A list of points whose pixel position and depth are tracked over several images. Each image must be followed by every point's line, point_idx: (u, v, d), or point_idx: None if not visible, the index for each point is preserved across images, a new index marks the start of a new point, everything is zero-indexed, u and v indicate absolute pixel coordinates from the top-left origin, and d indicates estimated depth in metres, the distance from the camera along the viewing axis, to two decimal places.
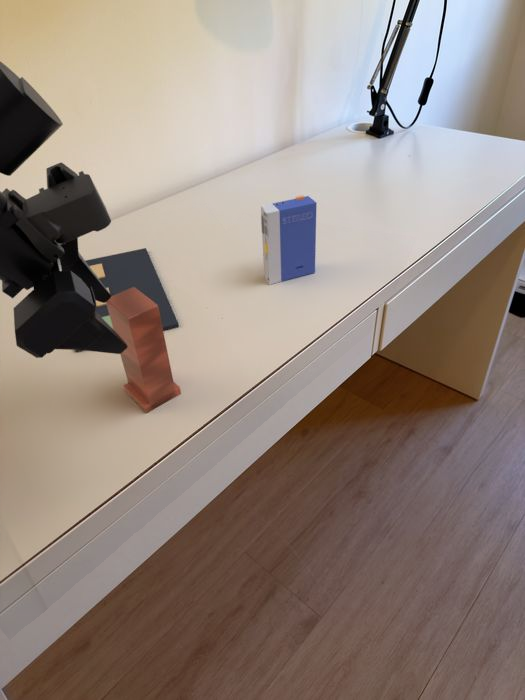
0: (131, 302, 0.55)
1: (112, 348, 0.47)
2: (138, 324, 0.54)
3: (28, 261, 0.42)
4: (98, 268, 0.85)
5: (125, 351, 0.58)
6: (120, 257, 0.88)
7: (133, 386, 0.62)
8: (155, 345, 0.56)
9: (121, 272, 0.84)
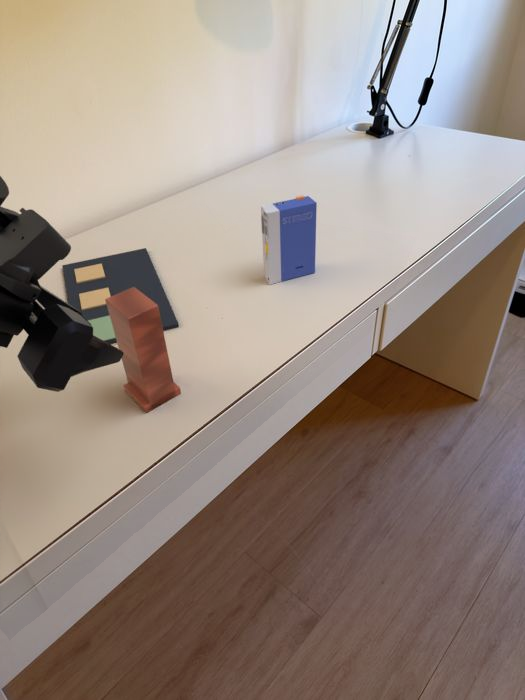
0: (131, 302, 0.55)
1: (112, 359, 0.50)
2: (138, 324, 0.54)
3: (11, 309, 0.44)
4: (98, 268, 0.85)
5: (125, 351, 0.58)
6: (120, 257, 0.88)
7: (133, 386, 0.62)
8: (155, 345, 0.56)
9: (121, 272, 0.84)
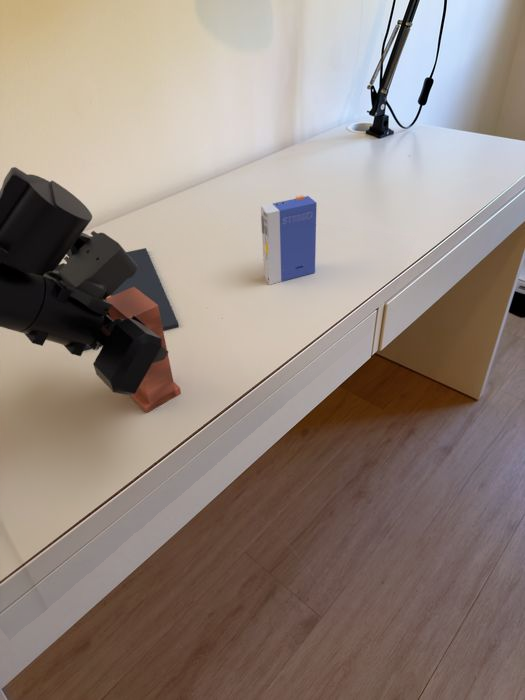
0: (131, 302, 0.55)
1: (158, 357, 0.57)
2: None
3: (87, 322, 0.49)
4: None
5: None
6: None
7: None
8: None
9: None
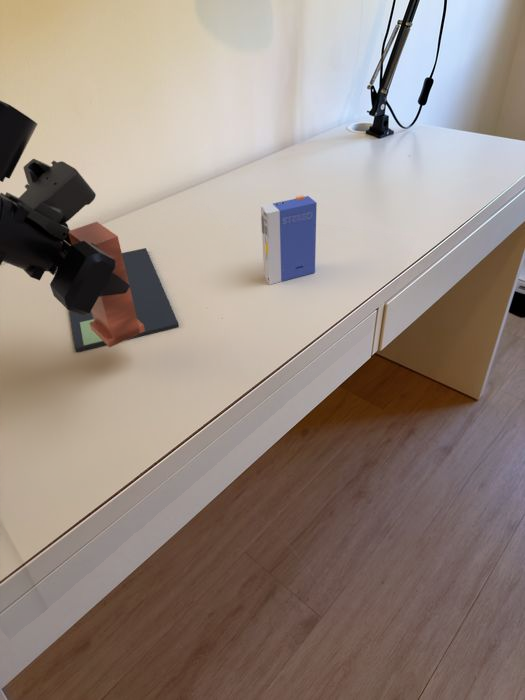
0: (92, 234, 0.57)
1: (119, 289, 0.58)
2: None
3: (45, 245, 0.51)
4: None
5: None
6: None
7: (98, 323, 0.64)
8: None
9: None
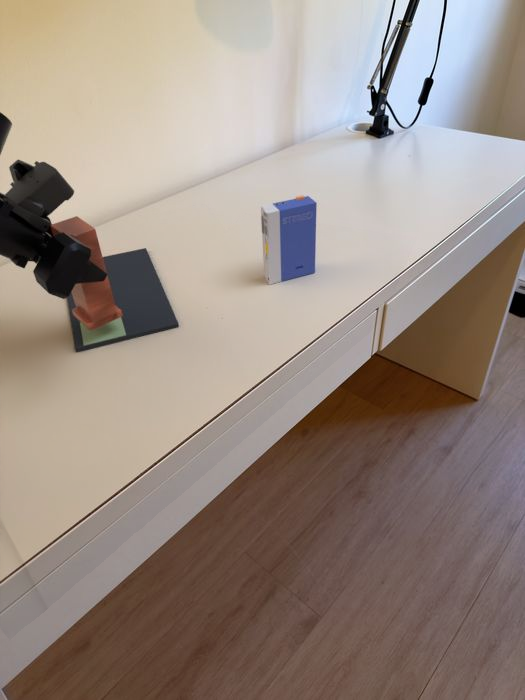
0: (72, 227, 0.63)
1: (98, 277, 0.65)
2: None
3: (28, 236, 0.57)
4: None
5: None
6: (120, 257, 0.88)
7: (80, 309, 0.70)
8: None
9: (121, 272, 0.84)
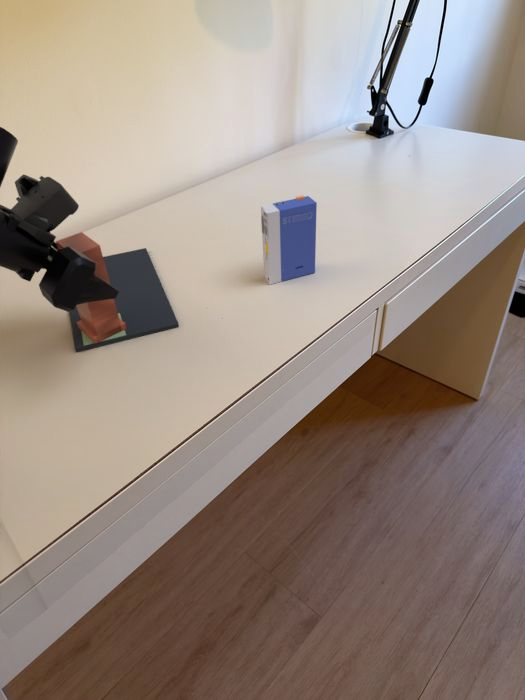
0: (77, 243, 0.64)
1: (109, 295, 0.65)
2: None
3: (34, 250, 0.58)
4: None
5: None
6: (120, 257, 0.88)
7: (84, 322, 0.71)
8: None
9: (121, 272, 0.84)
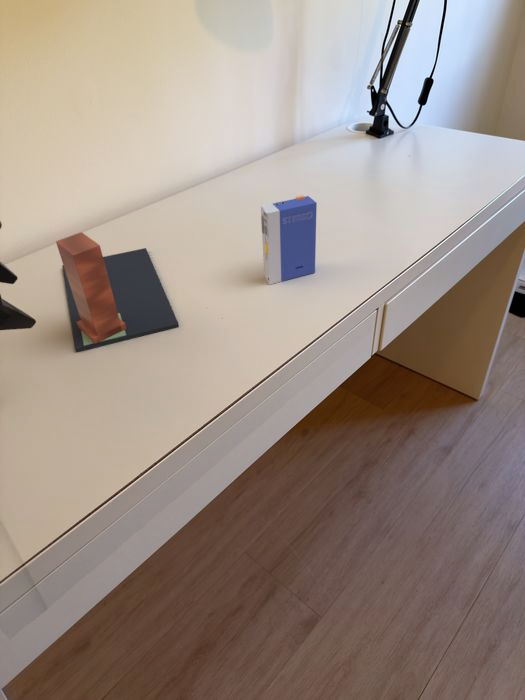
0: (77, 243, 0.64)
1: (23, 325, 0.59)
2: (82, 261, 0.63)
3: None
4: None
5: (75, 288, 0.68)
6: (120, 257, 0.88)
7: (84, 322, 0.71)
8: (99, 282, 0.66)
9: (121, 272, 0.84)
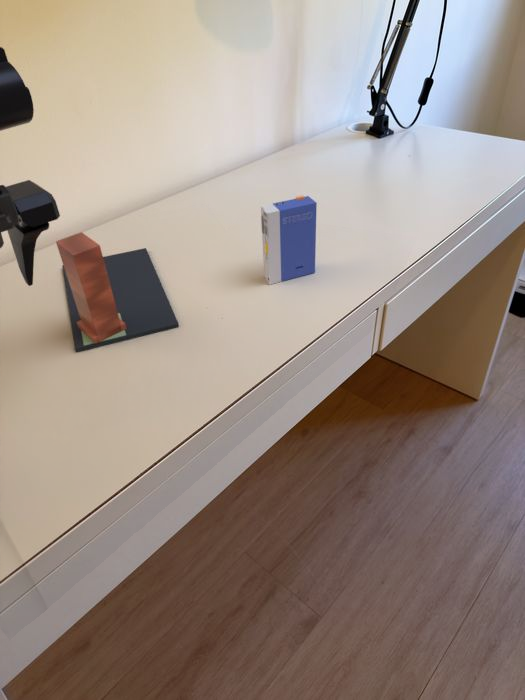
0: (77, 243, 0.64)
1: None
2: (82, 261, 0.63)
3: None
4: None
5: (75, 288, 0.68)
6: (120, 257, 0.88)
7: (84, 322, 0.71)
8: (99, 282, 0.66)
9: (121, 272, 0.84)
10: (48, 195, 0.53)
